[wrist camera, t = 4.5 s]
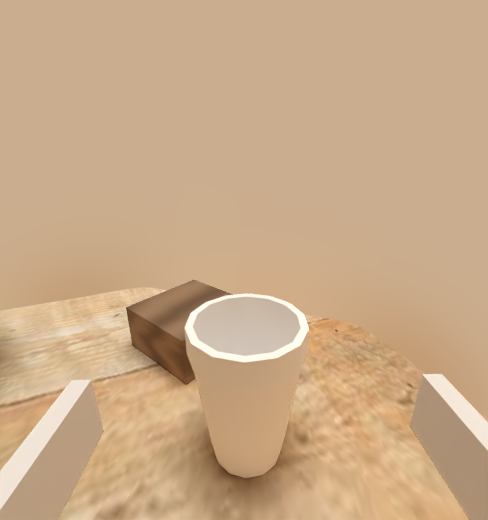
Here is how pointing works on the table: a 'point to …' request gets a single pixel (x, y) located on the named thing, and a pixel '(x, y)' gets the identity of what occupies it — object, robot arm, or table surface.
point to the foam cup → (247, 375)
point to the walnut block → (169, 325)
